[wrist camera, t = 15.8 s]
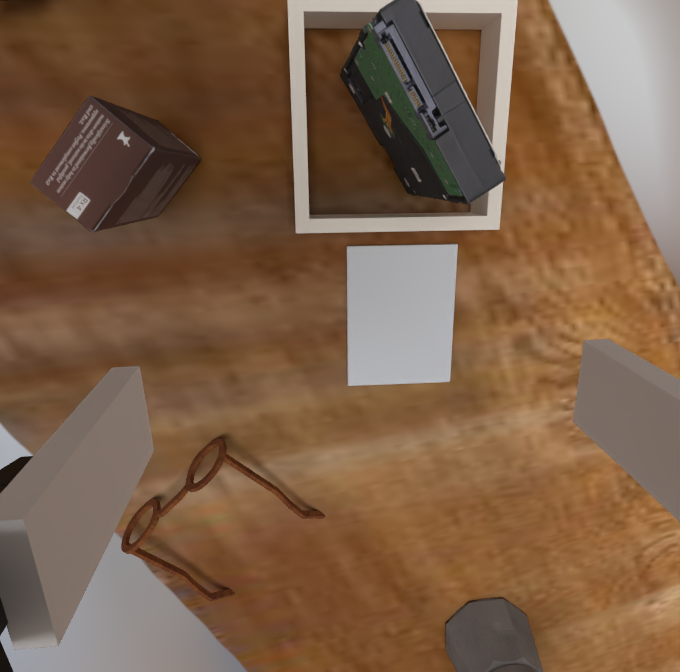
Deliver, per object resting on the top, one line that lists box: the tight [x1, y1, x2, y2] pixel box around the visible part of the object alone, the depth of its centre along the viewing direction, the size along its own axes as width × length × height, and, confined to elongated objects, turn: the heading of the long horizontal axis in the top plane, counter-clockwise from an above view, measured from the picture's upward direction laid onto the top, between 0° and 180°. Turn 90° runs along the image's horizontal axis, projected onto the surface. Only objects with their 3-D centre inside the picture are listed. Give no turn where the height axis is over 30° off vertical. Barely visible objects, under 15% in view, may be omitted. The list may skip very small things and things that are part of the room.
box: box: [30, 96, 201, 232], centre depth 33 cm, size 6×4×12 cm
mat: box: [347, 244, 458, 386], centre depth 43 cm, size 12×9×1 cm
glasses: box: [121, 438, 325, 601], centre depth 46 cm, size 13×13×5 cm
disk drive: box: [340, 0, 506, 204], centre depth 32 cm, size 10×3×15 cm, turn 33°
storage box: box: [287, 0, 518, 233], centre depth 37 cm, size 15×15×4 cm
